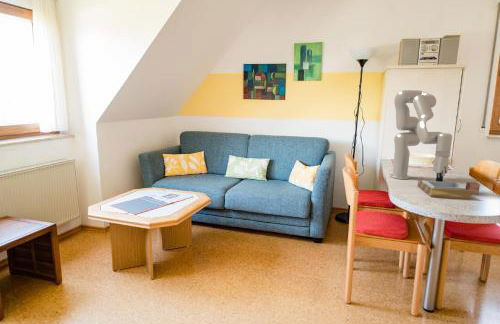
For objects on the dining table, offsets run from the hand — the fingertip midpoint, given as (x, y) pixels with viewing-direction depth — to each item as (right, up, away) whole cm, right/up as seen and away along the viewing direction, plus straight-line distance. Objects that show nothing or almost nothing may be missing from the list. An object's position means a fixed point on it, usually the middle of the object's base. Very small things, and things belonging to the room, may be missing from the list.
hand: (438, 183), depth 196 cm
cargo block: (+17, -5, -5) cm, 18 cm away
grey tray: (-2, -4, -8) cm, 9 cm away
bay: (-1, -5, -5) cm, 7 cm away
